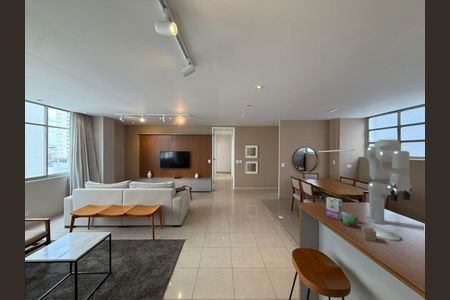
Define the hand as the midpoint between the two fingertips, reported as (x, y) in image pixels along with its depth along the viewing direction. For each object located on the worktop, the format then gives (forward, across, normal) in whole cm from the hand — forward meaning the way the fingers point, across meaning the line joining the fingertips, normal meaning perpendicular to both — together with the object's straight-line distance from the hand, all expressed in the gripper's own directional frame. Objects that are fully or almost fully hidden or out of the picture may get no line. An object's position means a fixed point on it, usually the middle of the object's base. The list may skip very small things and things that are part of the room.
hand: (400, 200), depth 113 cm
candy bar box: (+28, +1, -48) cm, 56 cm away
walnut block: (+28, +8, -13) cm, 32 cm away
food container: (+28, +4, -32) cm, 43 cm away
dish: (+28, -7, -13) cm, 31 cm away
